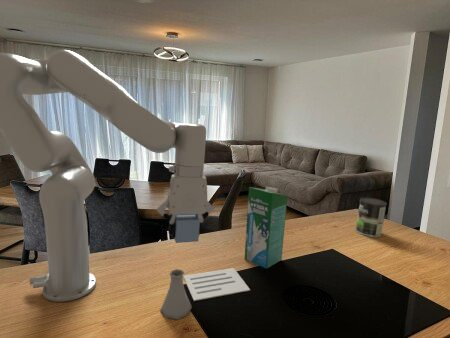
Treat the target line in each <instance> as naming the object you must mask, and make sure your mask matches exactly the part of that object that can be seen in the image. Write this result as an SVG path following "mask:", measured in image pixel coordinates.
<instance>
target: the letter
mask: <svg viewBox="0 0 450 338" xmlns="http://www.w3.org/2000/svg"><path fill="white" fill-rule="evenodd" d="M183 279H184V282H185V283H186V286H187V289H188V291H189V294H190V295H191V299H193V302H196V301H201V300H209V299H213V298H217V297H218V298H219V297H223V296H228V295H234V294H238V293H243V292H249V291H251V289H250V288H249V286H248V285H247V284H246V282H245V281H244V279H243V278H242V277H241V275H240V274H239V273H238V272H237V270H236V269H235V268H234V267H231V268H230V267H229V268H225V269H219V270H212V271H206V272H205V271H203V272H200V273H198V272H197V273H191V274H185V275H183Z"/></svg>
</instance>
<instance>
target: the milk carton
mask: <svg viewBox="0 0 450 338" xmlns="http://www.w3.org/2000/svg"><path fill="white" fill-rule="evenodd" d="M278 190H279V189H278V188H275V187H271V186H270V187H269V186H265V188H258V187H251V186H249V187H248V200H247V213H246V226H245V227H246V230H245V244H244V245H245V246H244V259H245V260H246V261H248V262H250V263H253V264H255V265H257V266H259V267H261V268H263V269H266V270H267V269H268V268H270V267H272V266H273V265H275V264H277V263H278V262H280V261H282V260H283V259H282V258H283V249H284V247H283V246H284V238H285V225H286V215H287V214H286V213H287V204H288V195H287V194H283V193H279V192H278Z"/></svg>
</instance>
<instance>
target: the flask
mask: <svg viewBox="0 0 450 338" xmlns="http://www.w3.org/2000/svg"><path fill="white" fill-rule="evenodd" d="M184 274H185V272H184V271H183V270H182V269H177V268H176V269H173V270H171V271H170V272H169V276H170V283H169V287H168V289H167V293H166V296H165V298H164V301H163V303H162V304H161V308H160V310H159V311H160V312H161V313H162V315H163V316H164V317H165V318H168V319H173V320H180V319H181V318H184V317H186V316H187V315H189V313H190V311H191V310H192V308H193V306H192V304H191V302H190V299H189V297H188V295H187V292H186V289H185V287H184V285H185V284H184V281H183V279H184V277H183V276H184Z"/></svg>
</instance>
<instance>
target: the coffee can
mask: <svg viewBox="0 0 450 338" xmlns="http://www.w3.org/2000/svg"><path fill="white" fill-rule="evenodd" d="M386 207H387V202H386V201H384V200H382V199H378V198H373V197H361V198H359V205H358V213H357V219H356V227H355V231H356V233H358V234H360V235H362V236H366V237H370V238H379V237H380V238H381V236H382V233H383V227H384V220H385V214H386Z"/></svg>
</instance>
